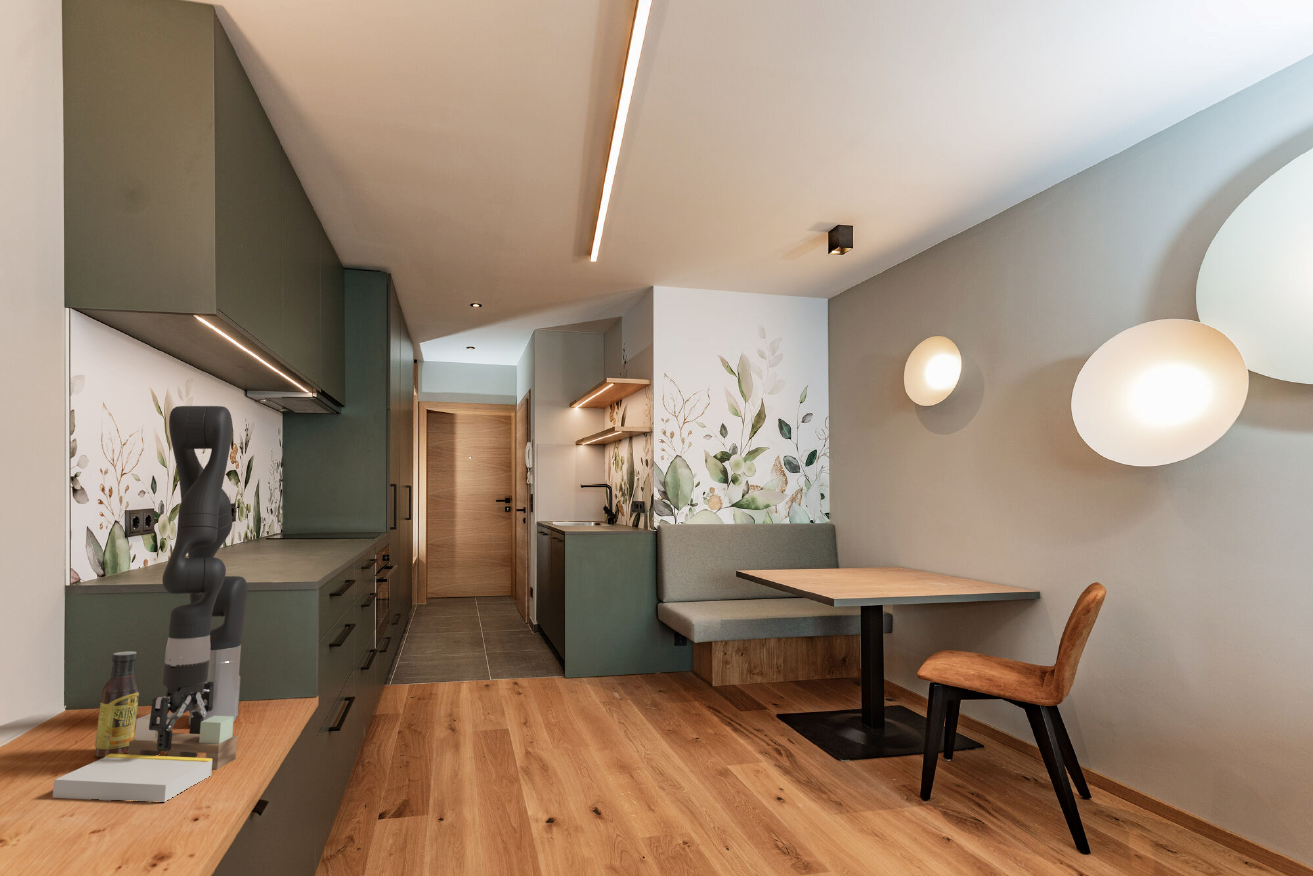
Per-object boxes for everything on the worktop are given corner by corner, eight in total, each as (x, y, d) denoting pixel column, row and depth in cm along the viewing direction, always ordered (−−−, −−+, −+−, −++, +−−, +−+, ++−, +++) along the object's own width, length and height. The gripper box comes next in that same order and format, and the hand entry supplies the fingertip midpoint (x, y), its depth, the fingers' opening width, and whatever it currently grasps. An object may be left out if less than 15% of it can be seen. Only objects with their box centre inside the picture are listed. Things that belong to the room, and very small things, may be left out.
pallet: (149, 754, 144) (150, 731, 145) (235, 759, 143) (237, 735, 144) (127, 765, 139) (129, 741, 139) (217, 769, 138) (218, 745, 138)
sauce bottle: (111, 761, 140) (120, 657, 142) (85, 757, 142) (95, 655, 143) (142, 749, 147) (150, 651, 148) (116, 746, 148) (125, 648, 150)
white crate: (150, 733, 144) (151, 712, 144) (169, 734, 144) (171, 713, 144) (134, 740, 140) (136, 719, 140) (154, 741, 140) (156, 719, 140)
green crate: (212, 736, 143) (214, 715, 143) (232, 737, 143) (233, 716, 143) (199, 743, 139) (200, 721, 139) (219, 743, 139) (220, 722, 139)
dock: (108, 771, 135) (110, 753, 136) (211, 776, 134) (212, 758, 135) (52, 797, 124) (54, 778, 124) (164, 803, 123) (166, 783, 123)
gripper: (194, 651, 150) (187, 731, 148) (141, 666, 135) (133, 755, 134) (229, 652, 149) (222, 733, 147) (179, 667, 135) (171, 757, 133)
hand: (180, 743), depth 141 cm, fingers open, 8 cm apart
